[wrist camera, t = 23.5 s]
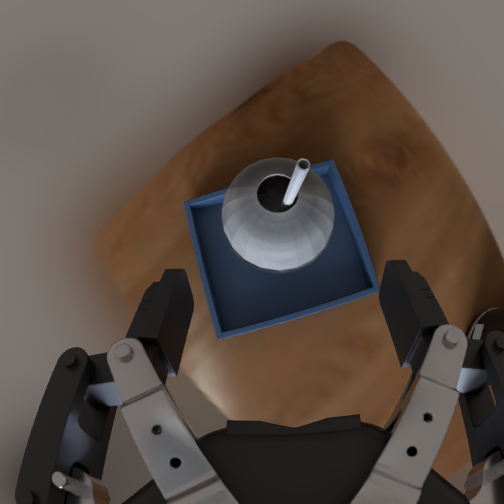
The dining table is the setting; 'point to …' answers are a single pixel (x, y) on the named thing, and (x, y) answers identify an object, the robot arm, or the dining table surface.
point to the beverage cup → (278, 215)
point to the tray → (284, 284)
